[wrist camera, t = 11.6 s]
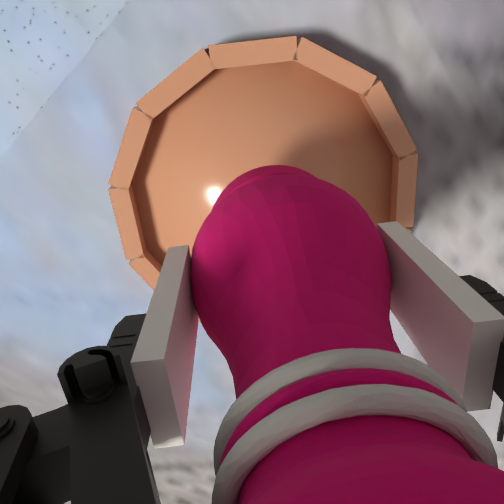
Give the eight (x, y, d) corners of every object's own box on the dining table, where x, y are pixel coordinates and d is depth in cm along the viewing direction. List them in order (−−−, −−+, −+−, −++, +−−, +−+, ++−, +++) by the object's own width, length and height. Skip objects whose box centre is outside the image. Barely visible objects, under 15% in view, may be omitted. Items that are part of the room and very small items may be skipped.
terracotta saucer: (152, 333, 26) (148, 347, 25) (85, 60, 20) (75, 59, 18) (397, 304, 26) (407, 317, 25) (413, 24, 20) (427, 21, 18)
